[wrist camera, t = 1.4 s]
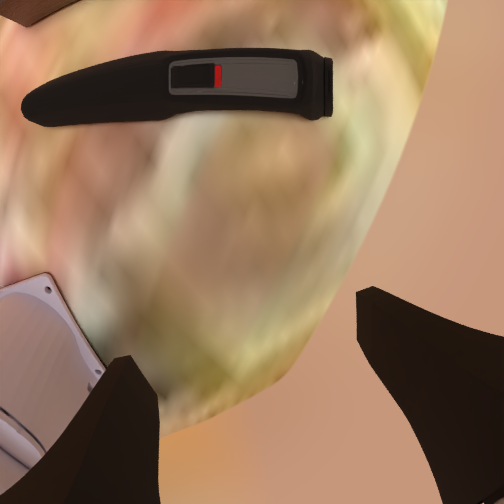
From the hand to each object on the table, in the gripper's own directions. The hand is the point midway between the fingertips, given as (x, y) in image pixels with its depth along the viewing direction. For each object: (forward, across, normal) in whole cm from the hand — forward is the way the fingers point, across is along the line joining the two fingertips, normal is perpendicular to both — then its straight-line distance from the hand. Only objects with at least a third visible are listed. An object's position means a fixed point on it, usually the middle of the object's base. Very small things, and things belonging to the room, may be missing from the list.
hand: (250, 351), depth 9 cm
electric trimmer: (+9, 0, -9) cm, 12 cm away
